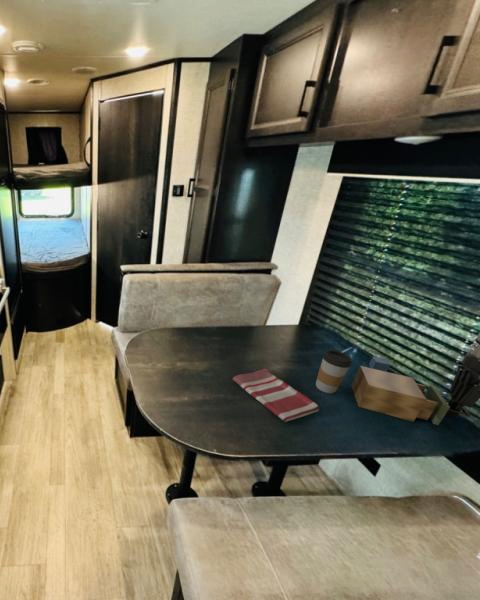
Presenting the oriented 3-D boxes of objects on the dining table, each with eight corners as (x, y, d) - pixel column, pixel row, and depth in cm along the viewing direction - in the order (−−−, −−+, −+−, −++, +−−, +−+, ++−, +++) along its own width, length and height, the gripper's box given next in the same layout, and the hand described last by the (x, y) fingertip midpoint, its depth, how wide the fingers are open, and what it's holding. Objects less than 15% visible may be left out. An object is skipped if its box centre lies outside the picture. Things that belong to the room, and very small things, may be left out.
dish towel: (263, 371, 129) (265, 366, 128) (319, 411, 109) (322, 405, 108) (231, 380, 124) (232, 375, 123) (283, 424, 104) (285, 418, 103)
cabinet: (401, 398, 114) (412, 377, 110) (413, 421, 104) (426, 399, 100) (351, 386, 121) (360, 365, 117) (358, 406, 111) (368, 385, 107)
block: (382, 368, 131) (387, 359, 129) (386, 374, 128) (390, 364, 126) (368, 364, 133) (372, 355, 131) (371, 370, 130) (375, 361, 128)
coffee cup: (314, 378, 125) (327, 346, 119) (340, 388, 120) (355, 355, 113) (309, 388, 120) (322, 355, 114) (336, 399, 114) (351, 365, 108)
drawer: (450, 410, 108) (462, 392, 105) (467, 433, 99) (480, 414, 96) (375, 391, 117) (384, 374, 114) (384, 410, 108) (393, 392, 105)
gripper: (458, 344, 102) (425, 400, 111) (479, 365, 91) (441, 425, 101) (492, 350, 98) (455, 407, 108) (518, 373, 88) (474, 434, 98)
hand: (448, 416), depth 104 cm, fingers closed
